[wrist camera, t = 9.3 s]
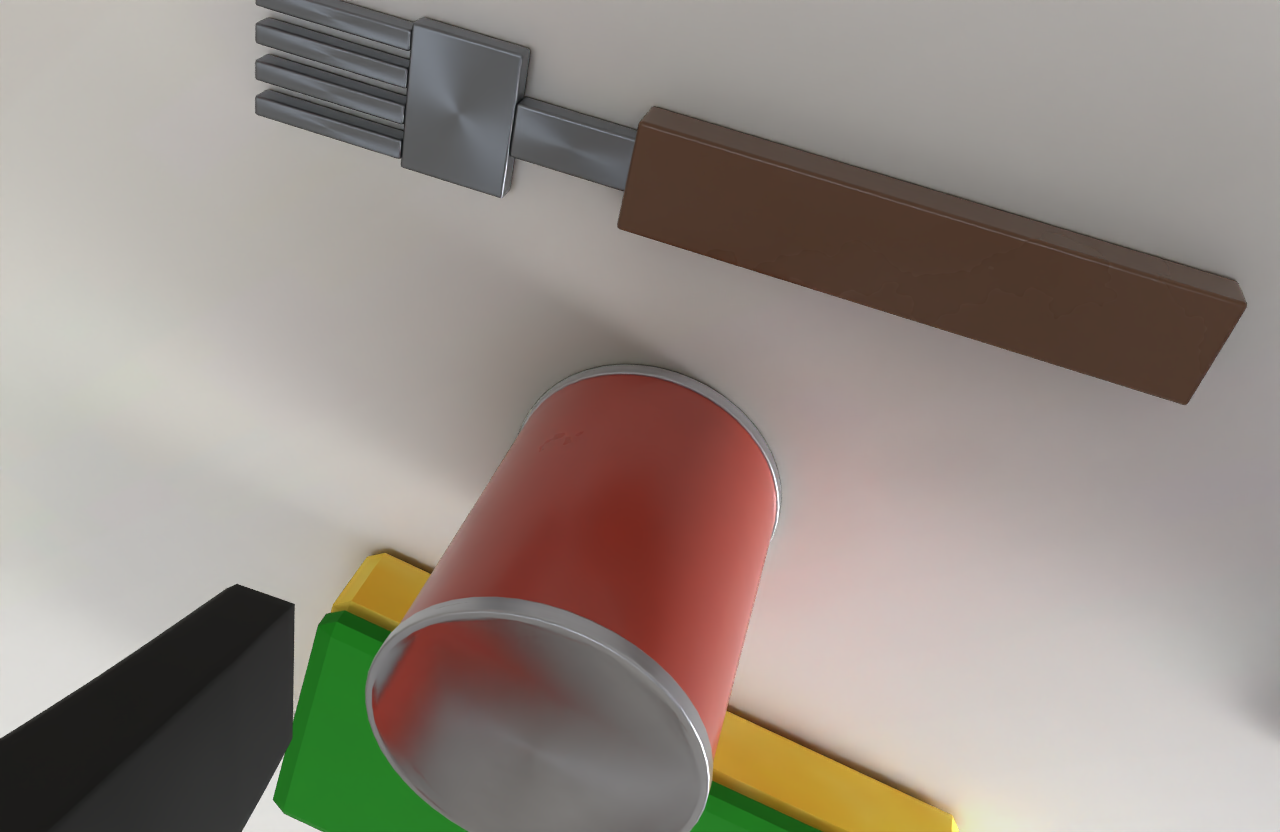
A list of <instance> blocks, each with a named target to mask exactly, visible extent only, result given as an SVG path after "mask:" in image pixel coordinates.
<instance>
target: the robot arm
mask: <svg viewBox="0 0 1280 832" xmlns="http://www.w3.org/2000/svg"><path fill="white" fill-rule="evenodd" d="M294 611H295V604H293V603H290V602H287V601H285V600H282V599H279V598H276V597H273V596H270V595H267V594H264V593H262V592H259V591H256V590H253V589H250V588H247V587H244V586H241V585H239V584H236V585H234V586H231V587H229V588H227V589H225V590H224V591H222V592H221V593H219V594H218V595H217V596H215V597H214V598H212V599H211V600H209V601H208V602H206V603H205V604H204V605H202V606H201V607H199V608H198V609H196V610H195V611H193V612H192V613H191V614H189V615H188V616H186V617H185V618H183V619H182V620H180V621H179V622H178V623H176V624H175V625H173V626H172V627H170V628H169V629H167V630H166V631H164V632H163V633H162V634H160V635H159V636H157V637H156V638H154V639H153V640H151V641H150V642H148V643H147V644H145V645H144V646H143V647H141V648H140V649H138V650H137V651H135V652H134V653H132V654H131V655H129V656H128V657H126V658H125V659H123V660H122V661H120V662H119V663H117V664H116V665H114V666H113V667H111V668H110V669H108V670H107V671H105V672H104V673H102V674H101V675H99V676H98V677H96V678H95V679H93V680H92V681H90V682H89V683H87V684H86V685H84V686H82V687H81V688H79V689H78V690H76V691H75V692H73V693H71V694H70V695H68V696H67V697H65V698H64V699H62V700H61V701H59V702H57V703H56V704H54V705H53V706H51V707H50V708H48V709H46V710H45V711H43V712H42V713H40V714H39V715H37V716H35V717H34V718H32V719H31V720H29V721H28V722H26V723H25V724H23V725H21V726H20V727H18V728H17V729H15V730H13V731H12V732H10V733H9V734H7V735H5V736H4V737H2V738H0V832H242V830H243V828H244V827H245V825H246V823H247V821H248V819H249V818H250V816H251V814H252V812H253V811H254V809H255V807H256V805H257V803H258V802H259V800H260V798H261V796H262V795H263V793H264V791H265V789H266V787H267V785H268V783H269V782H270V780H271V778H272V776H273V774H274V772H275V770H276V769H277V767H278V765H279V763H280V761H281V759H282V757H283V755H284V754H285V752H286V750H287V748H288V746H289V744H290V742H291V740H292V739H293V676H294Z"/></svg>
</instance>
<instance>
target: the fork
mask: <svg viewBox="0 0 1280 832" xmlns="http://www.w3.org/2000/svg"><path fill="white" fill-rule="evenodd" d="M256 5H257V6H260V7H264V8H267V9H270V10H274V11H277V12H280V13H284V14H287V15H290V16H294V17H297V18H300V19H304V20H307V21H310V22H313V23H317V24H320V25H323V26H327V27H330V28H333V29H337V30H340V31H343V32H347V33H350V34H353V35H357V36H360V37H363V38H367V39H370V40H373V41H376V42H380V43H383V44H386V45H390V46H393V47H396V48H400V49H403V50H406V51H410V60H407V59H404V58H401V57H397V56H394V55H391V54H387V53H384V52H381V51H378V50H374V49H371V48H368V47H364V46H361V45H358V44H354V43H351V42H348V41H344V40H341V39H338V38H335V37H331V36H328V35H325V34H321V33H318V32H315V31H311V30H308V29H305V28H301V27H298V26H295V25H292V24H288V23H285V22H282V21H278V20H275V19H272V18H266V19H263V20H261V21H259V22H257V23H256V36H255V41H256V43H258V44H261V45H264V46H268V47H271V48H274V49H277V50H281V51H284V52H287V53H290V54H294V55H297V56H300V57H304V58H307V59H310V60H313V61H317V62H320V63H323V64H327V65H330V66H333V67H336V68H340V69H343V70H346V71H349V72H353V73H356V74H359V75H363V76H366V77H369V78H372V79H376V80H379V81H382V82H385V83H389V84H392V85H395V86H399V87H402V88H407V96H403V95H400V94H397V93H393V92H390V91H387V90H384V89H380V88H377V87H374V86H371V85H367V84H364V83H361V82H357V81H354V80H351V79H348V78H344V77H341V76H338V75H335V74H331V73H328V72H325V71H321V70H318V69H315V68H312V67H308V66H305V65H302V64H299V63H295V62H292V61H289V60H286V59H282V58H279V57H276V56H272V55H269V54H267V55H265V56H263V57H261V58H259V59H257V60H256V62H255V78H256V79H257V80H260V81H263V82H266V83H269V84H273V85H276V86H279V87H282V88H285V89H289V90H292V91H295V92H298V93H302V94H305V95H308V96H311V97H315V98H318V99H321V100H324V101H328V102H331V103H334V104H337V105H341V106H344V107H347V108H350V109H354V110H357V111H360V112H363V113H367V114H370V115H373V116H376V117H380V118H383V119H386V120H389V121H392V122H396V123H399V124H404V131H401V130H397V129H394V128H391V127H388V126H385V125H381V124H378V123H375V122H372V121H368V120H365V119H362V118H359V117H355V116H352V115H349V114H346V113H342V112H339V111H336V110H333V109H329V108H326V107H323V106H320V105H317V104H313V103H310V102H307V101H304V100H300V99H297V98H294V97H291V96H287V95H284V94H281V93H278V92H274V91H271V90H265V91H264V92H262V93H260V94H258V95H256V97H255V113H256V114H257V115H259V116H263V117H266V118H269V119H272V120H275V121H279V122H282V123H285V124H288V125H291V126H295V127H298V128H301V129H304V130H308V131H311V132H314V133H317V134H320V135H324V136H327V137H330V138H333V139H336V140H340V141H343V142H346V143H349V144H352V145H356V146H359V147H362V148H365V149H368V150H372V151H375V152H378V153H381V154H385V155H388V156H391V157H394V158H397V159H401V167H403V168H406V169H409V170H412V171H416V172H419V173H422V174H425V175H428V176H432V177H435V178H438V179H441V180H444V181H448V182H451V183H454V184H457V185H460V186H464V187H467V188H470V189H473V190H476V191H480V192H483V193H486V194H489V195H492V196H496V197H499V198H503V197H504V196H505V194H506V193H507V192H508V191H509V190H510V186H511V179H512V173H513V166H514V159H515V158H517V159H520V160H524V161H527V162H530V163H533V164H536V165H540V166H543V167H546V168H549V169H553V170H556V171H559V172H562V173H566V174H569V175H572V176H575V177H579V178H582V179H585V180H588V181H592V182H595V183H598V184H601V185H605V186H608V187H611V188H614V189H618V190H621V191H624V195H623V199H622V204H621V209H620V214H619V218H618V223H617V226H618V228H619V229H621V230H624V231H627V232H631V233H634V234H637V235H640V236H643V237H647V238H650V239H653V240H656V241H659V242H663V243H666V244H669V245H672V246H676V247H679V248H682V249H685V250H688V251H692V252H695V253H698V254H701V255H704V256H708V257H711V258H714V259H717V260H720V261H724V262H727V263H730V264H733V265H736V266H740V267H743V268H746V269H749V270H753V271H756V272H759V273H762V274H765V275H769V276H772V277H775V278H778V279H781V280H785V281H788V282H791V283H794V284H797V285H801V286H804V287H807V288H810V289H813V290H817V291H820V292H823V293H826V294H829V295H833V296H836V297H839V298H842V299H846V300H849V301H852V302H855V303H858V304H862V305H865V306H868V307H871V308H874V309H878V310H881V311H884V312H887V313H890V314H894V315H897V316H900V317H903V318H906V319H910V320H913V321H916V322H919V323H923V324H926V325H929V326H932V327H935V328H939V329H942V330H945V331H948V332H951V333H955V334H958V335H961V336H964V337H967V338H971V339H974V340H977V341H980V342H983V343H987V344H990V345H993V346H996V347H1000V348H1003V349H1006V350H1009V351H1012V352H1016V353H1019V354H1022V355H1025V356H1028V357H1032V358H1035V359H1038V360H1041V361H1044V362H1048V363H1051V364H1054V365H1057V366H1060V367H1064V368H1067V369H1070V370H1073V371H1076V372H1080V373H1083V374H1086V375H1089V376H1093V377H1096V378H1099V379H1102V380H1105V381H1109V382H1112V383H1115V384H1118V385H1121V386H1125V387H1128V388H1131V389H1134V390H1137V391H1141V392H1144V393H1147V394H1150V395H1153V396H1157V397H1160V398H1163V399H1166V400H1170V401H1173V402H1176V403H1179V404H1182V405H1186V404H1188V402H1189V401H1190V399H1191V398H1192V396H1193V394H1194V393H1195V391H1196V389H1197V388H1198V386H1199V384H1200V383H1201V381H1202V380H1203V378H1204V376H1205V375H1206V373H1207V371H1208V370H1209V368H1210V366H1211V365H1212V363H1213V362H1214V360H1215V358H1216V357H1217V355H1218V353H1219V352H1220V350H1221V348H1222V347H1223V345H1224V344H1225V342H1226V340H1227V339H1228V337H1229V335H1230V334H1231V332H1232V330H1233V329H1234V327H1235V326H1236V324H1237V322H1238V321H1239V319H1240V317H1241V316H1242V314H1243V312H1244V311H1245V309H1246V308H1247V302H1246V300H1245V298H1244V295H1243V293H1242V290H1241V288H1240V286H1239V283H1238V282H1237V281H1234V280H1231V279H1228V278H1224V277H1221V276H1218V275H1214V274H1211V273H1208V272H1204V271H1201V270H1198V269H1194V268H1191V267H1188V266H1184V265H1181V264H1178V263H1174V262H1171V261H1168V260H1164V259H1161V258H1158V257H1154V256H1151V255H1148V254H1144V253H1141V252H1138V251H1134V250H1131V249H1128V248H1124V247H1121V246H1118V245H1114V244H1111V243H1108V242H1104V241H1101V240H1098V239H1094V238H1091V237H1088V236H1084V235H1081V234H1078V233H1074V232H1071V231H1068V230H1064V229H1061V228H1058V227H1054V226H1051V225H1048V224H1044V223H1041V222H1038V221H1034V220H1031V219H1028V218H1024V217H1021V216H1018V215H1014V214H1011V213H1008V212H1004V211H1001V210H998V209H994V208H991V207H988V206H984V205H981V204H978V203H974V202H971V201H968V200H964V199H961V198H958V197H954V196H951V195H948V194H944V193H941V192H938V191H934V190H931V189H928V188H924V187H921V186H918V185H914V184H911V183H908V182H904V181H901V180H898V179H894V178H891V177H888V176H884V175H881V174H878V173H874V172H871V171H868V170H864V169H861V168H858V167H854V166H851V165H848V164H844V163H841V162H838V161H834V160H831V159H828V158H824V157H821V156H818V155H814V154H811V153H808V152H804V151H801V150H798V149H794V148H791V147H788V146H784V145H781V144H778V143H774V142H771V141H768V140H764V139H761V138H758V137H754V136H751V135H748V134H744V133H741V132H738V131H734V130H731V129H728V128H724V127H721V126H718V125H714V124H711V123H708V122H704V121H701V120H698V119H694V118H691V117H688V116H684V115H681V114H678V113H674V112H671V111H668V110H664V109H661V108H658V107H651V109H650V110H649V111H648V112H647V114H646V115H645V116H644V117H643V118H642V120H641V121H640V122H639V124H638V129H637V130H634V129H631V128H627V127H624V126H621V125H617V124H614V123H611V122H607V121H604V120H601V119H597V118H594V117H591V116H588V115H584V114H581V113H578V112H574V111H571V110H568V109H564V108H561V107H558V106H554V105H551V104H548V103H545V102H541V101H538V100H535V99H531V98H528V97H524V91H525V85H526V78H527V71H528V64H529V57H530V49H528V48H525V47H522V46H519V45H515V44H512V43H508V42H505V41H502V40H498V39H495V38H492V37H488V36H485V35H482V34H478V33H475V32H472V31H468V30H465V29H462V28H458V27H455V26H451V25H448V24H445V23H441V22H438V21H435V20H431V19H428V18H425V17H423V18H420V19H419V20H417V21H415V22H414V23H413V22H410V21H406V20H403V19H400V18H396V17H393V16H390V15H386V14H383V13H380V12H376V11H373V10H370V9H366V8H363V7H360V6H356V5H353V4H350V3H346V2H343V1H340V0H256Z"/></svg>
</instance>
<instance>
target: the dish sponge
mask: <svg viewBox="0 0 1280 832" xmlns="http://www.w3.org/2000/svg"><path fill="white" fill-rule="evenodd" d="M430 575H431V574H430V573H428V572H425V571H423V570H421V569H419V568H417V567H415V566H412V565H410V564H408V563H406V562H404V561H402V560H399V559H397V558H395V557H393V556H391V555H389V554H387V553H381V554H377V555H372V556H368V557H367V558H366V559H365V560H364V562H363V563H362V565H361V566H360V567H359V569H358V570H357V572H356V573H355V574H354V576H353V577H352V579H351V580H350V581H349V583H348V584H347V586H346V587H345V588H344V590H343V591H342V593H341V594H340V595H339V597H338V598H337V600H336V601H335V602H334V604H333V606H332V610H331V613H328V614H326V615H325V616H324V618H323V619H322V621H321V622H320V623H319V625H318V628H317V632H316V636H315V639H314V643H313V647H312V651H311V655H310V659H309V662H308V666H307V670H306V674H305V678H304V682H303V686H302V689H301V693H300V697H299V701H298V705H297V709H296V713H295V716H294V720H293V739H292V740H291V742H290V744H289V746H288V748H287V750H286V752H285V755H284V759H283V763H282V766H281V770H280V774H279V778H278V782H277V786H276V790H275V793H274V797H273V800H274V802H275V803H276V804H277V805H278V807H279V808H280V809H281V810H282V812H283V813H284V814H286V815H288V816H290V817H292V818H294V819H297V820H299V821H301V822H303V823H305V824H307V825H309V826H312V827H314V828H316V829H318V830H320V831H322V832H468V831H467V830H465V829H463V828H462V827H460V826H458V825H457V824H455V823H453V822H452V821H450V820H449V819H447V818H446V817H445V816H443V815H442V814H440V813H439V812H438V811H436V810H435V809H433V808H432V807H431V806H430V805H429V804H428V803H426V802H425V801H424V800H423V799H422V798H420V797H419V796H418V795H417V794H416V793H415V792H414V791H413V790H412V789H411V788H410V787H409V786H408V785H407V784H406V783H405V782H404V781H403V779H402V778H401V777H400V776H399V775H398V773H397V772H396V771H395V770H394V768H393V767H392V766H391V764H390V763H389V761H388V760H387V758H386V757H385V755H384V754H383V752H382V751H381V749H380V747H379V745H378V743H377V741H376V739H375V737H374V734H373V732H372V729H371V726H370V723H369V720H368V715H367V709H366V703H365V687H366V681H367V676H368V671H369V669H370V666H371V664H372V662H373V659H374V657H375V656H376V654H377V652H378V651H379V649H380V648H381V646H382V645H383V643H384V642H385V640H386V639H387V637H388V636H389V634H390V633H391V632H392V631H393V630H394V629H395V628H396V627H397V626H398V625H399V624H400V623H401V621H402V619H403V618H404V616H405V615H406V613H407V611H408V610H409V608H410V607H411V605H412V603H413V602H414V600H415V599H416V597H417V595H418V594H419V592H420V591H421V589H422V588H423V586H424V584H425V583H426V581H427V580H428V578H429V576H430ZM690 832H959V830H958V827H957V825H956V823H955V820H954V818H953V816H952V815H950V814H948V813H946V812H944V811H942V810H940V809H937V808H935V807H933V806H931V805H929V804H927V803H925V802H922V801H920V800H918V799H916V798H914V797H912V796H909V795H907V794H905V793H903V792H901V791H899V790H896V789H894V788H892V787H890V786H888V785H886V784H883V783H881V782H879V781H877V780H875V779H873V778H871V777H868V776H866V775H864V774H862V773H860V772H858V771H855V770H853V769H851V768H849V767H847V766H845V765H842V764H840V763H838V762H836V761H834V760H832V759H829V758H827V757H825V756H823V755H821V754H819V753H817V752H814V751H812V750H810V749H808V748H806V747H804V746H801V745H799V744H797V743H795V742H793V741H791V740H788V739H786V738H784V737H782V736H780V735H778V734H775V733H773V732H771V731H769V730H767V729H765V728H762V727H760V726H758V725H756V724H754V723H752V722H750V721H747V720H745V719H743V718H741V717H739V716H737V715H734V714H732V713H730V712H728V711H726V714H725V718H724V722H723V726H722V730H721V734H720V738H719V741H718V745H717V749H716V753H715V757H714V761H713V776H712V783H711V787H710V791H709V795H708V799H707V802H706V806H705V809H704V811H703V813H702V815H701V816H700V818H699V820H698V822H697V823H696V824H695V826H694V827H693V828H692V829H691V831H690Z"/></svg>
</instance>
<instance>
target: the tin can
mask: <svg viewBox="0 0 1280 832" xmlns="http://www.w3.org/2000/svg"><path fill="white" fill-rule="evenodd" d="M781 499H782V498H781V483H780V478H779V473H778V469H777V466H776V463H775V461H774V458H773V455H772V453H771V451H770V449H769V447H768V445H767V444H766V442H765V440H764V438H763V437H762V435H761V434H760V432H759V431H758V430H757V428H756V427H755V426H754V424H753V423H752V422H751V421H750V420H749V419H748V418H747V417H746V415H745V414H744V413H743V412H742V411H741V410H740V409H739V408H737V407H736V406H735V405H734V404H733V403H731V402H730V401H729V400H728V399H727V398H725V397H724V396H722V395H721V394H719V393H718V392H716V391H715V390H713V389H712V388H710V387H708V386H706V385H704V384H702V383H700V382H698V381H697V380H695V379H692V378H690V377H687V376H684V375H682V374H679V373H677V372H673V371H669V370H665V369H662V368H658V367H651V366H644V365H626V364H620V365H610V366H602V367H597V368H593V369H589V370H585V371H583V372H580V373H577V374H575V375H572V376H570V377H568V378H566V379H565V380H563V381H561V382H559V383H557V384H556V385H555V386H553V387H552V388H551V389H550V390H548V391H547V392H546V393H545V394H544V395H543V396H542V397H541V398H540V399H539V400H538V401H537V402H536V404H535V405H534V407H533V408H532V410H531V411H530V412H529V414H528V416H527V417H526V419H525V420H524V422H523V424H522V427H521V429H520V431H519V433H518V436H517V438H516V440H515V441H514V443H513V444H512V446H511V448H510V449H509V451H508V452H507V454H506V456H505V457H504V459H503V460H502V462H501V464H500V465H499V467H498V468H497V470H496V471H495V473H494V475H493V476H492V478H491V479H490V481H489V483H488V484H487V486H486V487H485V489H484V491H483V492H482V494H481V495H480V497H479V498H478V500H477V502H476V503H475V505H474V506H473V508H472V510H471V511H470V513H469V514H468V516H467V518H466V519H465V521H464V522H463V524H462V526H461V527H460V529H459V530H458V532H457V533H456V535H455V537H454V538H453V540H452V541H451V543H450V545H449V546H448V548H447V549H446V551H445V553H444V554H443V556H442V557H441V559H440V561H439V562H438V564H437V565H436V567H435V568H434V570H433V572H432V573H431V575H430V576H429V578H428V580H427V581H426V583H425V584H424V586H423V588H422V589H421V591H420V592H419V594H418V595H417V597H416V599H415V600H414V602H413V603H412V605H411V607H410V608H409V610H408V611H407V613H406V615H405V616H404V618H403V619H402V621H401V623H400V624H399V625H398V626H397V627H396V628H395V629H394V630H393V631H392V632H391V633H390V634H389V636H388V637H387V639H386V640H385V642H384V643H383V645H382V646H381V648H380V649H379V651H378V652H377V654H376V656H375V657H374V659H373V662H372V664H371V666H370V669H369V671H368V676H367V681H366V687H365V703H366V709H367V715H368V720H369V723H370V726H371V729H372V732H373V734H374V737H375V739H376V741H377V743H378V745H379V747H380V749H381V751H382V752H383V754H384V755H385V757H386V758H387V760H388V761H389V763H390V764H391V766H392V767H393V768H394V770H395V771H396V772H397V773H398V775H399V776H400V777H401V778H402V779H403V781H404V782H405V783H406V784H407V785H408V786H409V787H410V788H411V789H412V790H413V791H414V792H415V793H416V794H417V795H418V796H419V797H420V798H422V799H423V800H424V801H425V802H426V803H428V804H429V805H430V806H431V807H432V808H433V809H435V810H436V811H438V812H439V813H440V814H442V815H443V816H445V817H446V818H447V819H449V820H450V821H452V822H453V823H455V824H457V825H458V826H460V827H462V828H463V829H465V830H467V831H468V832H690V831H691V829H692V828H693V827H694V826H695V824H696V823H697V822H698V820H699V818H700V816H701V815H702V813H703V811H704V809H705V806H706V802H707V799H708V795H709V791H710V787H711V783H712V776H713V761H714V757H715V753H716V749H717V745H718V741H719V738H720V734H721V730H722V726H723V722H724V718H725V714H726V710H727V706H728V702H729V699H730V695H731V691H732V687H733V683H734V679H735V675H736V671H737V667H738V664H739V660H740V656H741V652H742V648H743V644H744V640H745V636H746V632H747V628H748V625H749V621H750V617H751V613H752V609H753V605H754V601H755V597H756V593H757V589H758V586H759V582H760V578H761V574H762V570H763V566H764V562H765V558H766V554H767V551H768V547H769V544H770V542H771V540H772V538H773V536H774V533H775V530H776V526H777V522H778V519H779V515H780V508H781Z"/></svg>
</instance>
